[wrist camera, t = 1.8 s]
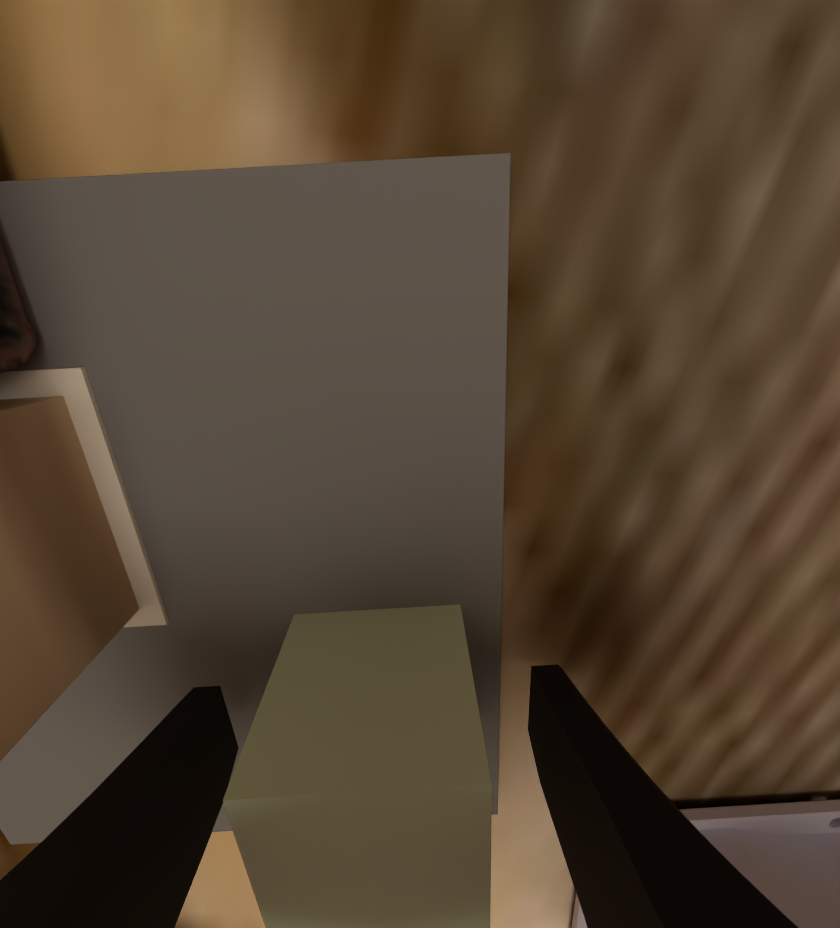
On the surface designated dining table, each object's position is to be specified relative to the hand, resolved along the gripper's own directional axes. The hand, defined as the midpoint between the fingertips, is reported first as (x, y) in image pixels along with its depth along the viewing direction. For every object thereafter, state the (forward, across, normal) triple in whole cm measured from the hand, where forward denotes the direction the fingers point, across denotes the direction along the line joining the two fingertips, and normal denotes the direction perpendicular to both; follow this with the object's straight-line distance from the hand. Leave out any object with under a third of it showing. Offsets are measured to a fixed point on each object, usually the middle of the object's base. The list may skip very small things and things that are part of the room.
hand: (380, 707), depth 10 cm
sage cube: (+1, 0, 0) cm, 1 cm away
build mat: (+2, +4, -2) cm, 5 cm away
